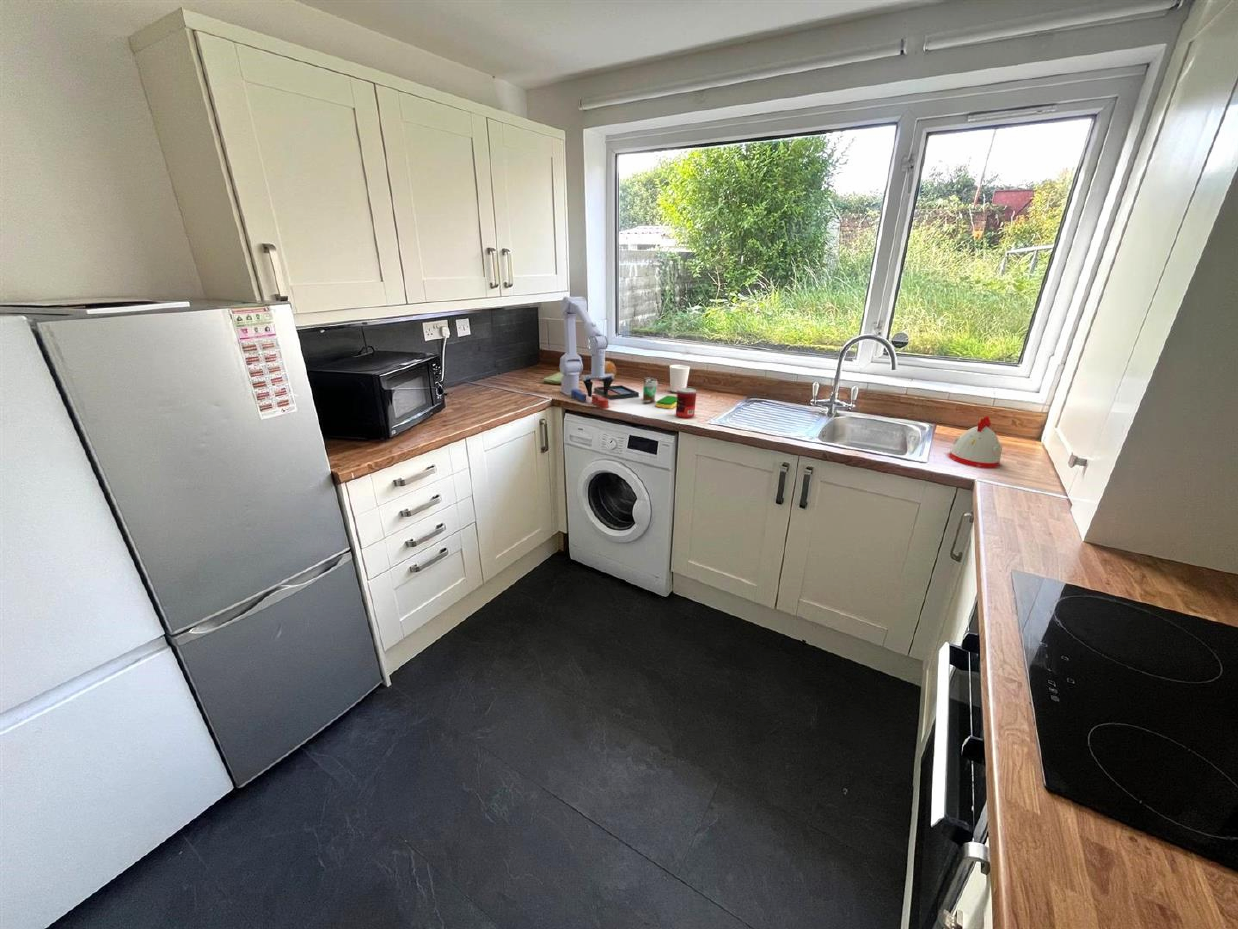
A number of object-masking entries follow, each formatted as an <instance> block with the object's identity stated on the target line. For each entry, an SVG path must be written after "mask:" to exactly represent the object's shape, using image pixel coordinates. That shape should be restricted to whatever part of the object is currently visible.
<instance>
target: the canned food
mask: <svg viewBox="0 0 1238 929" xmlns="http://www.w3.org/2000/svg"><path fill="white" fill-rule="evenodd" d="M676 397H677V404H676V406H675V416H676V417H677V418H680V419H692V418H694V416H695V413H696V412H695V411H696V401H697V389H695V388H691V387H686V388H679V389H678V391H677V393H676Z"/></svg>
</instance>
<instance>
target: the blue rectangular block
mask: <svg viewBox="0 0 1238 929" xmlns="http://www.w3.org/2000/svg"><path fill="white" fill-rule="evenodd" d="M570 398H571V399H575V400H577V401H579V402H580V403H587V394H586V393H584V392H582V389H580V388H579V389H573V390H571V395H570Z"/></svg>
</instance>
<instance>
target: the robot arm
mask: <svg viewBox="0 0 1238 929" xmlns="http://www.w3.org/2000/svg"><path fill="white" fill-rule="evenodd" d="M560 303H561V304H560V308H561V309H560V310H561V315H562V317H563V326H564V349H565V351H564V352H565V353H564V354H563V355H561V357H560V358H559V371H560V372H561V373H562V374H563V375H562V377H561V385H560V389H559V392H561V393H562V394H564V395H566V396H571V390H573V389H579V390H580V375H581V373H582V372H583V370H584V364H583V360H582V357H581V356H580V355H579V354H578V352H577V350H578V349H577V329H576V327H577V326H576V318H577V317H578V318H579V320H580V321H581V323H582V324H583V331H584V333H585V334H586V337H587V339H588V346H589V352H590V354H591V366H590V367H591V369H590V371H591V373H590V374H585V375H584V374H583V375H581V381H582V382H583V385H584V386H585V389H586V393H587V396H588V397H589V398H592V395H593V384H594V382H593V381H594V380H596V381H597V380H602V384H603V387H604V395H607V393H608V390H609V387H610V386H612V383H613V380H614V378H615V377H614V374H612V373H611V374H605V361H606V350H607V349H608V347H609V340H608V338H607V336H606V335H604V334H603V333H602V332H601V331H600V329H599V327H598V325H597V324H596V322H594V321H592V319H591V316H590V314H589V312H588V308H587V307H588V302H587V300H586V298H585V297H584V296H563V298H562V299H561V301H560Z"/></svg>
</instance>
